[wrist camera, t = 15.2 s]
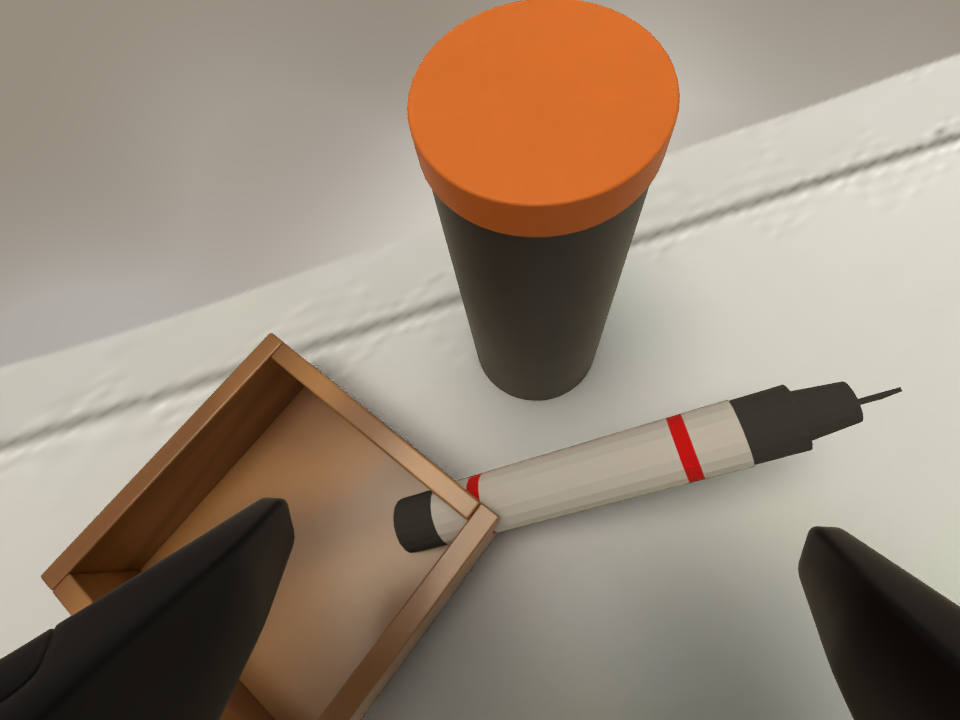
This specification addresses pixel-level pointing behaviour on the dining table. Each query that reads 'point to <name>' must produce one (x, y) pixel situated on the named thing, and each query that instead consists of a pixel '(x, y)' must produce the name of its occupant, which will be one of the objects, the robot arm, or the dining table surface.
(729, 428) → the marker
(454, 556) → the box
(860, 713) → the robot arm
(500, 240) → the tube
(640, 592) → the dining table surface
